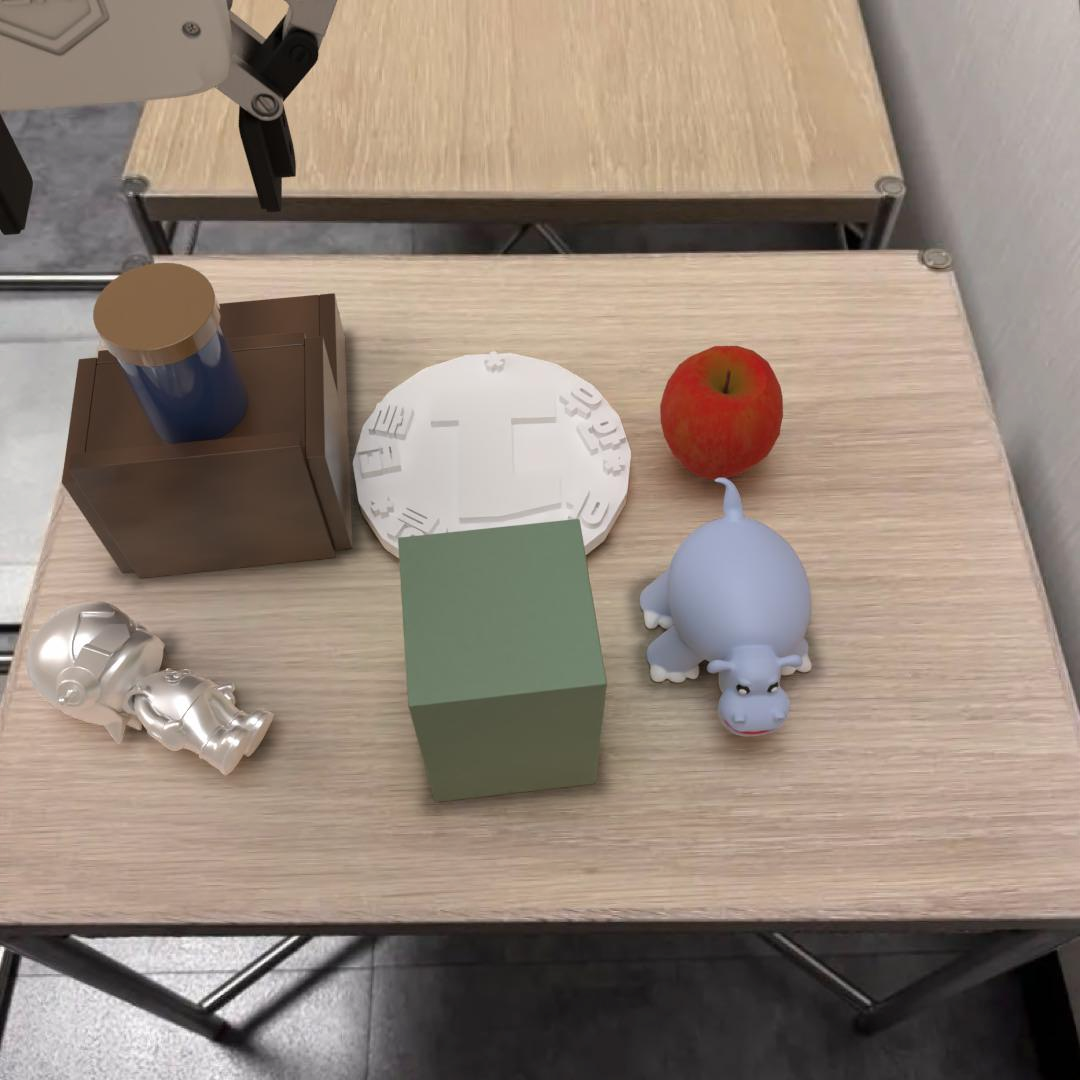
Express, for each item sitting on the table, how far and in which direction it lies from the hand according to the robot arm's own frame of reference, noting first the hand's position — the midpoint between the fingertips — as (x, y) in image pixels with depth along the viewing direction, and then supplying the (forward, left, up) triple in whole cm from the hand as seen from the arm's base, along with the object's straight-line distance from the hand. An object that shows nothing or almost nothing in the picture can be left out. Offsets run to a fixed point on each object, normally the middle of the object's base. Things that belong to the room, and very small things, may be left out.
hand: (147, 198), depth 41 cm
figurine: (-10, -5, -36) cm, 38 cm away
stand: (+12, -8, -36) cm, 39 cm away
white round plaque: (+13, +11, -36) cm, 40 cm away
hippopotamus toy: (+27, -5, -36) cm, 46 cm away
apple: (+29, +10, -36) cm, 48 cm away
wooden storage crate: (-5, +16, -36) cm, 40 cm away
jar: (-5, +11, -25) cm, 28 cm away
